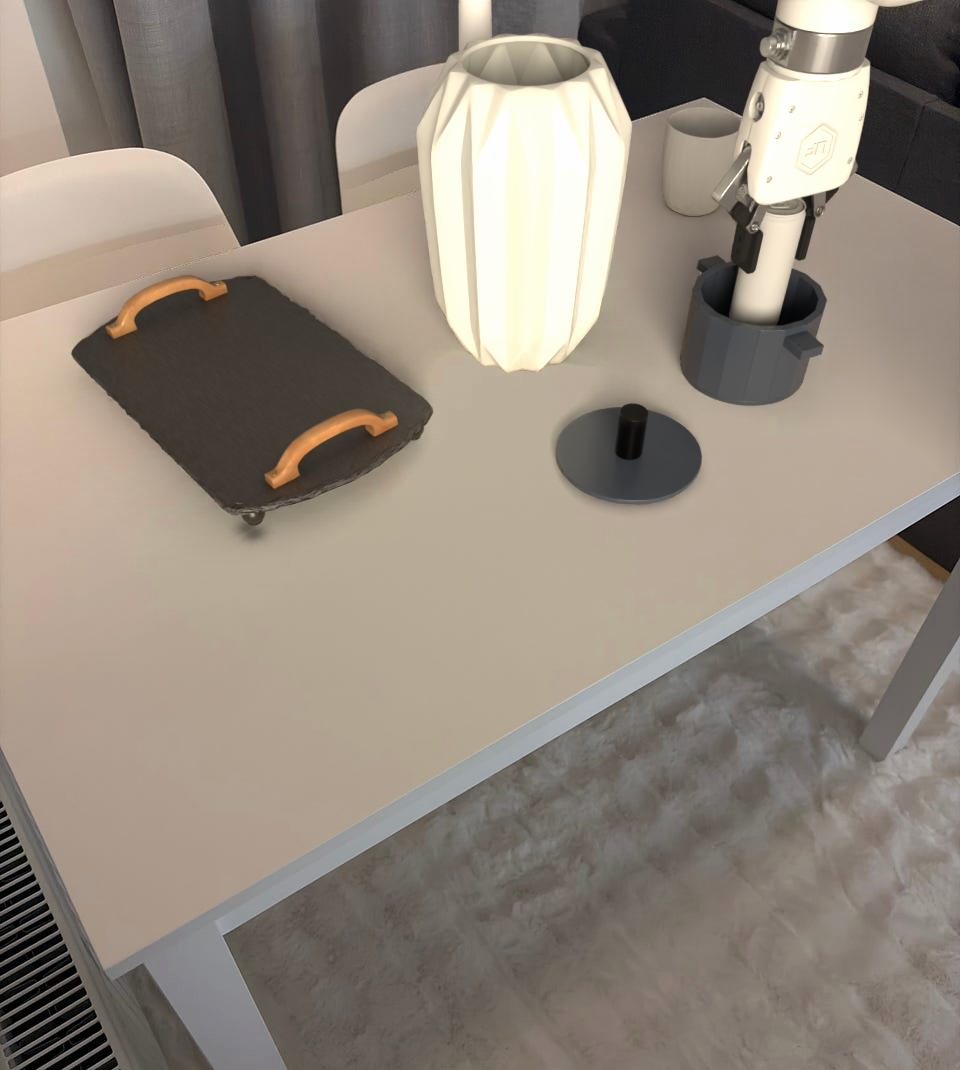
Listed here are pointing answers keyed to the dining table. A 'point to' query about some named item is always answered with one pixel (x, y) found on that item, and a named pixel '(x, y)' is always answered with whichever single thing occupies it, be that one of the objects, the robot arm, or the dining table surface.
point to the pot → (749, 339)
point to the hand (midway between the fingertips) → (767, 258)
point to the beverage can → (770, 266)
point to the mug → (697, 157)
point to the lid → (628, 455)
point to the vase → (522, 194)
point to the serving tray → (250, 391)
